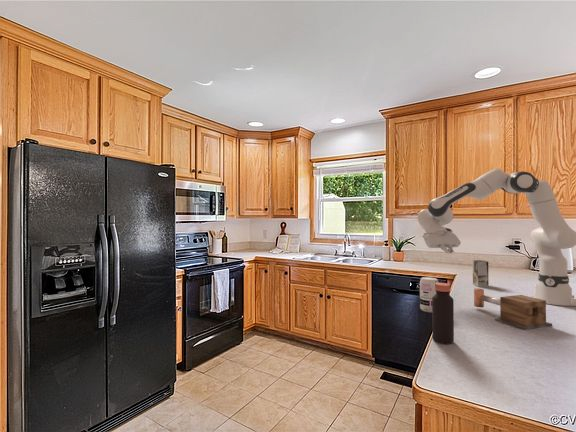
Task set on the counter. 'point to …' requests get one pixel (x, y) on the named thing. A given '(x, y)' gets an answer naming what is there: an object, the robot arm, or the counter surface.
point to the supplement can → (427, 293)
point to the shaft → (483, 298)
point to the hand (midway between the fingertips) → (450, 252)
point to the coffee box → (480, 273)
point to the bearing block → (523, 312)
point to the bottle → (442, 314)
